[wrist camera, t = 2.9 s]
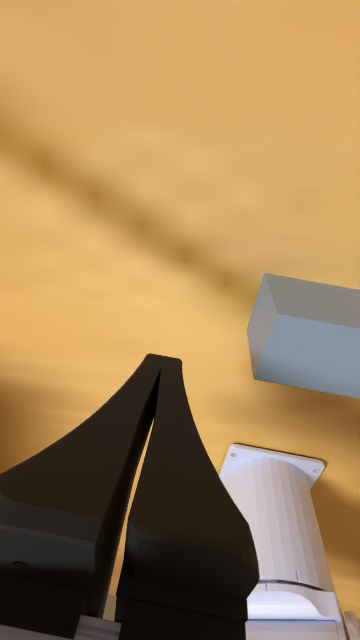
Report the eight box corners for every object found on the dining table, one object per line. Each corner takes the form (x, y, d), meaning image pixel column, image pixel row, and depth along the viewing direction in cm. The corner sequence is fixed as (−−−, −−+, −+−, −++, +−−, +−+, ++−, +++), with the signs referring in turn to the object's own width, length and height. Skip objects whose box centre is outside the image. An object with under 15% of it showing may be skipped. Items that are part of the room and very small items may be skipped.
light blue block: (382, 352, 20) (426, 411, 16) (246, 328, 20) (253, 379, 16) (416, 299, 18) (477, 350, 14) (264, 272, 18) (277, 313, 14)
